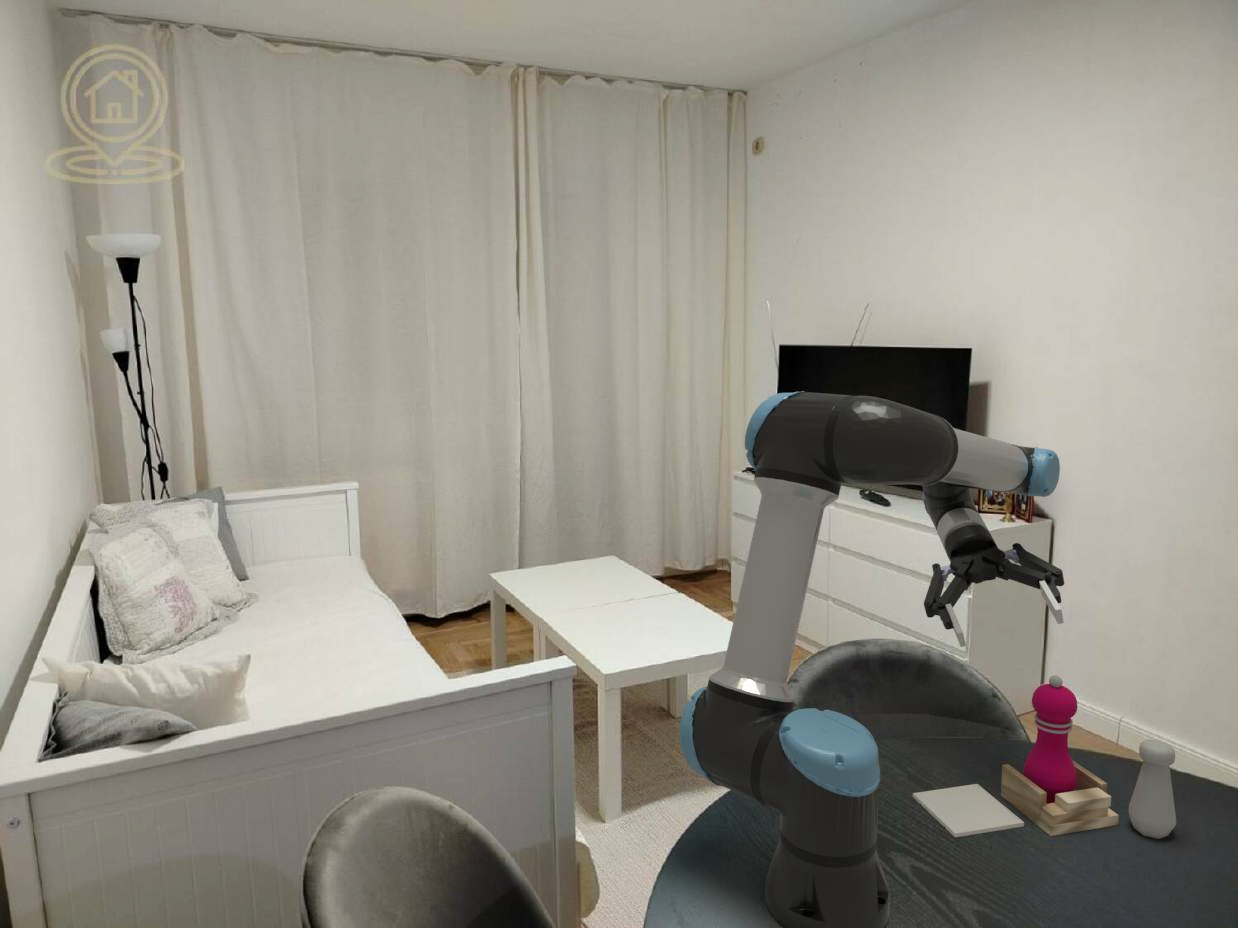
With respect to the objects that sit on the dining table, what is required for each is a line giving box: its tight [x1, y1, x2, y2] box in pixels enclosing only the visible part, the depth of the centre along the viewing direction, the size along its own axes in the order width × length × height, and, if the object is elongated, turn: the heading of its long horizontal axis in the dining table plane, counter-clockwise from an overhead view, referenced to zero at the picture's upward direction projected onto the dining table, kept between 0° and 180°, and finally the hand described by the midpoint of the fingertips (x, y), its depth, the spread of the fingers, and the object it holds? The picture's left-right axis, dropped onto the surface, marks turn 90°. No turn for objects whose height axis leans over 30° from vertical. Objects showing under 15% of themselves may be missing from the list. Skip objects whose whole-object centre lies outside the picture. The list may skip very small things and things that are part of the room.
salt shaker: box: [1128, 739, 1177, 840], centre depth 123 cm, size 6×6×13 cm
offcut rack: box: [1000, 759, 1120, 837], centre depth 130 cm, size 11×11×5 cm
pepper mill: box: [1022, 674, 1078, 804], centre depth 130 cm, size 7×7×20 cm
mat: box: [912, 783, 1025, 838], centre depth 130 cm, size 11×11×1 cm
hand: (1010, 628), depth 126 cm, fingers open, 13 cm apart
